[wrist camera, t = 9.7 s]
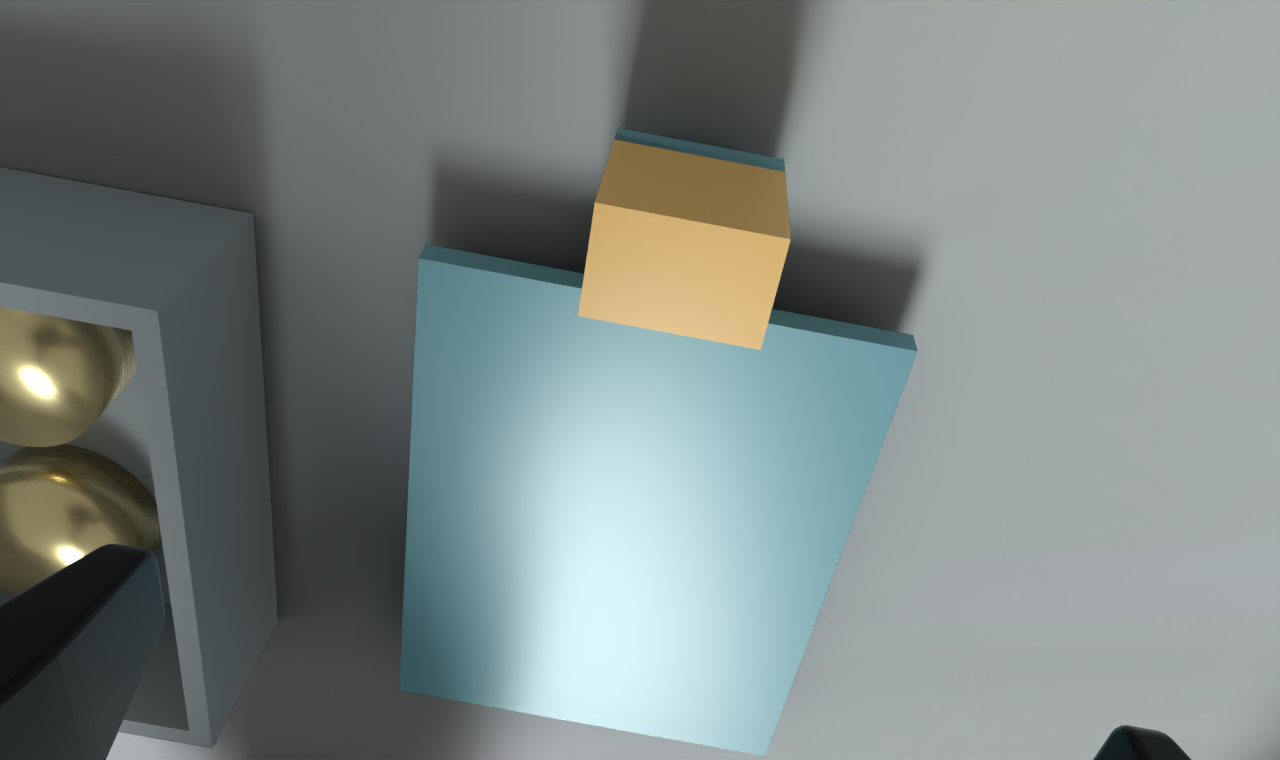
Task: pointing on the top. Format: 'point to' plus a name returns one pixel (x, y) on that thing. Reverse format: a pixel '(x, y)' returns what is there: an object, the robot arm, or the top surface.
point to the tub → (168, 415)
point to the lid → (636, 460)
